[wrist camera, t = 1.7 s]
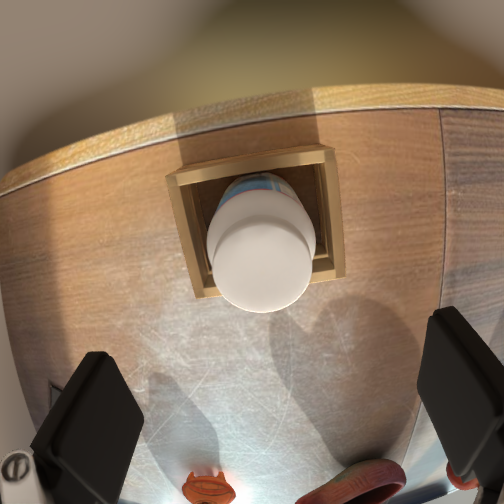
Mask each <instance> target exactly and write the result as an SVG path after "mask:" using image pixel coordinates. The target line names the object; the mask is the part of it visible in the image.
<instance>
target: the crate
mask: <svg viewBox="0 0 504 504" xmlns="http://www.w3.org/2000/svg"><path fill="white" fill-rule="evenodd" d="M307 164H313V170H314V178H315V186H316V194H317V203H318V212H319V221H320V230H321V240H322V244H316V247H315V253H314V257H313V260H312V274H311V278H310V281H309V283H315V282H321V281H328V280H334V279H340V278H346V266H345V248H344V234H343V221H342V209H341V198H340V188H339V178H338V170H337V161H336V153H335V148H332V147H329V146H325V145H322V144H313V145H305V146H298V147H290V148H283V149H276V150H269V151H263V152H256V153H250V154H244V155H238V156H233V157H227V158H221V159H216V160H211V161H206V162H201V163H196V164H191V165H186V166H182V167H181V168H179V169H177V170H176V171H173V172H172V173H170V174H168V175H166V176H165V178H166V183H167V187H168V191H169V195H170V200H171V204H172V208H173V212H174V216H175V221H176V225H177V229H178V233H179V237H180V241H181V245H182V249H183V253H184V256H185V260H186V264H187V268H188V271H189V275H190V279H191V283H192V286H193V290H194V294H195V297H196V299H200V298H208V297H216V296H223V295H222V294H221V293H220V291H219V290H218V288H217V286H216V284H215V282H214V278H213V274H212V265H211V263H210V260H209V257H208V252H207V230H206V226H205V221H204V217H203V212H202V208H201V203H200V198H199V194H198V189H197V184H196V182H201V181H206V180H212V179H217V178H223V177H228V176H234V175H240V174H246V173H252V172H258V171H265V170H271V169H278V168H285V167H292V166H299V165H307Z"/></svg>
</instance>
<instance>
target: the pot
mask: <svg viewBox="0 0 504 504" xmlns="http://www.w3.org/2000/svg"><path fill="white" fill-rule="evenodd" d="M182 491H183V494H184V496H185V497H186V498H187V499H188V500H189V501H190V502H191V503H192V504H229V503H231V502H232V501H233V499H234V498H235V497H236V494H235V491H234V489H233V488H232V487H231V486H230V485H229V484H228V483H227V482H226V480H225V477H224V474H223V472H219V474H218V476H217V477H212V476H199V477H196V478H195V477H194V473H193V472H191V473H190V474H189V476H188V478H187V481H186V483H185V484H184V485H183V487H182Z"/></svg>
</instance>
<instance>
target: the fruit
mask: <svg viewBox="0 0 504 504" xmlns="http://www.w3.org/2000/svg"><path fill="white" fill-rule="evenodd" d="M446 472H447V476H448V479H449V480H450V482H451V483H452V485H454V486H455V487H456V488H458V489H460V490H469V489H473V488H476V487H478V490H479V488H480V485H479V482H478V480H477V478H475V479H473V480H470V481H468V482H466V483H462V480H461V478H460V477H456V476H455V475H454V473H453V471H452V468H451V466H450V463H449V461H448V463H447V467H446Z"/></svg>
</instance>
